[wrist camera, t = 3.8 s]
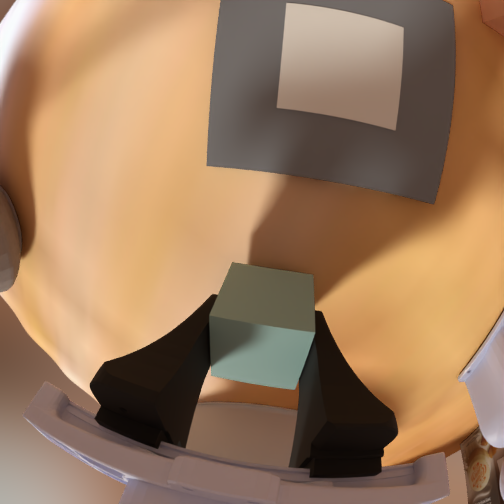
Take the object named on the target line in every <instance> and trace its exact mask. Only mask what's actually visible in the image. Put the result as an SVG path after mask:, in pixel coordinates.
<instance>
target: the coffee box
mask: <svg viewBox="0 0 504 504" xmlns="http://www.w3.org/2000/svg"><path fill="white" fill-rule="evenodd" d="M460 448H461V452H462V458H463V464H464V470H465V477H466V486H467V495H468V504H504V500H503V498H502V495H501V492H500V473H501V468H502V464H503V461H504V448H497V447H493V446H492V445H490V444H489V443H488V442H487V441H486V439H485V438H484V436H483V434H482V432H481V430H480V427H478V428H477V429H476V430H475V431H474V432H473V433H472V434H471V435H470V436H469V437H468V438H467V439H466V440H465V441H464V442H463V443H461V444H460Z"/></svg>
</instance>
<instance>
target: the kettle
mask: <svg viewBox="0 0 504 504" xmlns="http://www.w3.org/2000/svg"><path fill="white" fill-rule="evenodd" d="M297 412H298V410H293V409H288V408H282V407H276V406H269V405H261V404H252V403H240V402H199V403H197V405H196V409H195V413H194V416H193V420H192V424H191V428H190V432H189V436H188V440H187V445H186V449H189V450H193V451H196V452H200V453H204V454H208V455H213V456H217V457H222V458H226V459H231V460H237V461H242V462H248V463H255V464H262V465H270V466H279V467H289V462H290V457H291V451H292V446H293V440H294V434H295V427H296V420H297Z"/></svg>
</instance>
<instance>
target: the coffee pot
mask: <svg viewBox="0 0 504 504" xmlns="http://www.w3.org/2000/svg"><path fill="white" fill-rule="evenodd" d="M21 250H22V236H21V229H20V225H19V221H18V217H17V214H16V211H15V209H14V206H13V204H12V202H11V200H10V198H9V196H8V195H7V193H6V191H5V190H4V189H3V188H2V187H1V186H0V292H4V291H7V290H9V289H10V288H11V287H12V286H13V284H14V282H15V280H16V277H17V274H18V270H19V265H20V253H21Z"/></svg>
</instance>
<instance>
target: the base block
mask: <svg viewBox="0 0 504 504" xmlns="http://www.w3.org/2000/svg"><path fill="white" fill-rule="evenodd" d="M209 326H210V358H211V376H215V377H220V378H225V379H230V380H235V381H240V382H245V383H251V384H257V385H263V386H270V387H276V388H284V389H292V390H295V388H296V385H297V383H298V380H299V377H300V375H301V372H302V369H303V367H304V364H305V361H306V358H307V355H308V353H309V350H310V347H311V344H312V341H313V338H314V335H315V303H314V279H313V275H312V274H305V273H299V272H292V271H285V270H279V269H272V268H266V267H259V266H253V265H247V264H240V263H234V262H232V264H231V267H230V269H229V271H228V273H227V276H226V278H225V280H224V283H223V285H222V287H221V289H220V292H219V294H218V296H217V299H216V301H215V303H214V306H213V308H212V310H211V312H210V315H209Z"/></svg>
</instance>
